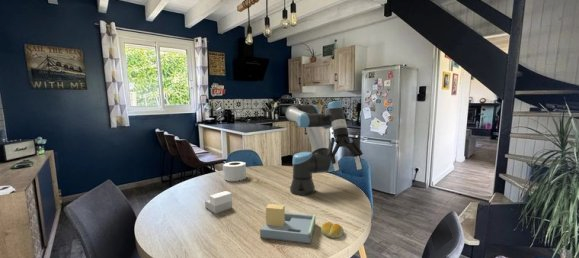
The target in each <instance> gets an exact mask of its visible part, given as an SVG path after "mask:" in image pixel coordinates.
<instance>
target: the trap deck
mask: <svg viewBox="0 0 579 258" xmlns="http://www.w3.org/2000/svg"><path fill="white" fill-rule="evenodd" d="M315 227H316V213H313V215H311V214H310V215H309V214H299V213H290V212H289V213H288V212H285V223H284V224H283V226H282V227H281V226H272V225H266V223H265V224H264V226H263V227H260V229H259V232H260V233H259V234H260V236H259V237H260V239H262V240H263V239H265V240H272V241H273V240H274V241H281V242H282V241H283V242H288V243H289V242H290V243H299V244H307V245H310V244H311V243H312V239H313V236H314V235H313V234H314V231H315Z"/></svg>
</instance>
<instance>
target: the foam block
mask: <svg viewBox="0 0 579 258" xmlns="http://www.w3.org/2000/svg"><path fill="white" fill-rule="evenodd" d="M232 194H233V193H232V192H230V191H228V190H224V191H221V192H216V193H214V194H210V195H209V198H208V199H206V200H204V201H205V202H204V203H205V206H204V207H205V208H206V209H207V208H208V209H207V210H209V211H210V212H212V213H214V214H218V213H220V212H223V211H226V210H229V209H232V208H233V195H232Z"/></svg>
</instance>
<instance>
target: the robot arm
mask: <svg viewBox="0 0 579 258" xmlns="http://www.w3.org/2000/svg"><path fill="white" fill-rule="evenodd" d="M327 109H328V110H327V112H326V113H320V110H319V107H318V105H317V104H292V105H290V106H288V107H287V108H286V109H285V111H284V112H285V117H286V119H287V120H288V121H290V122H296V123H297V126H298V128H303V129H304V128H305V129H306V132H307V136H308V140H309V143H310V146H311V150H312V152H311V151H302V152H301V151H300V152H297V153H295V154H294V155H293V156H292V162H291V163H292V180H291V184H290V187H289V192H290V193H291V194H294V195H297V196H308V195H309V196H310V195H313V194H314V193H315V192H316V186H315V184H314V180H313V174H323V173H326V174H327V173H331V172H333V171H334V172H336V171H339V170H340V168H339V162H338V157H337V156H336V154H337V153H338V150H339V149H340V148H346V149H348V150H349V151H350V152H351V154H353V155H354V161H355V165H356V170H357V171H359V170H362V159H361V156H362V155H363V154H364V152H363V151H362V150H361V148H360V147H359V146H358V143H356V140H355V138H354V137H351V138H350V137H349V130H348V126H347V120H346V117H345V111H344V107H343V104H342V102H341V101H340V100H333V101H330V102H328V104H327ZM320 128H322V129H325V130H328V129H332V133H333V136H332V137H331V138H329V145H328V147H326V144H325V141H324V138H323V135H322V132H321V129H320ZM335 143H336V144H335ZM334 145H335V146H334Z"/></svg>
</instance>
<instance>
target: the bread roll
mask: <svg viewBox="0 0 579 258" xmlns="http://www.w3.org/2000/svg"><path fill="white" fill-rule="evenodd" d="M320 232H321V234H322V235H323V236H324V237H327V238H331V239H338V238H341V237H342V236H343V234H344V228H343V226H341V224H339V223H333V222H330V221H328V222H323V224H322V225H321V227H320Z"/></svg>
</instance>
